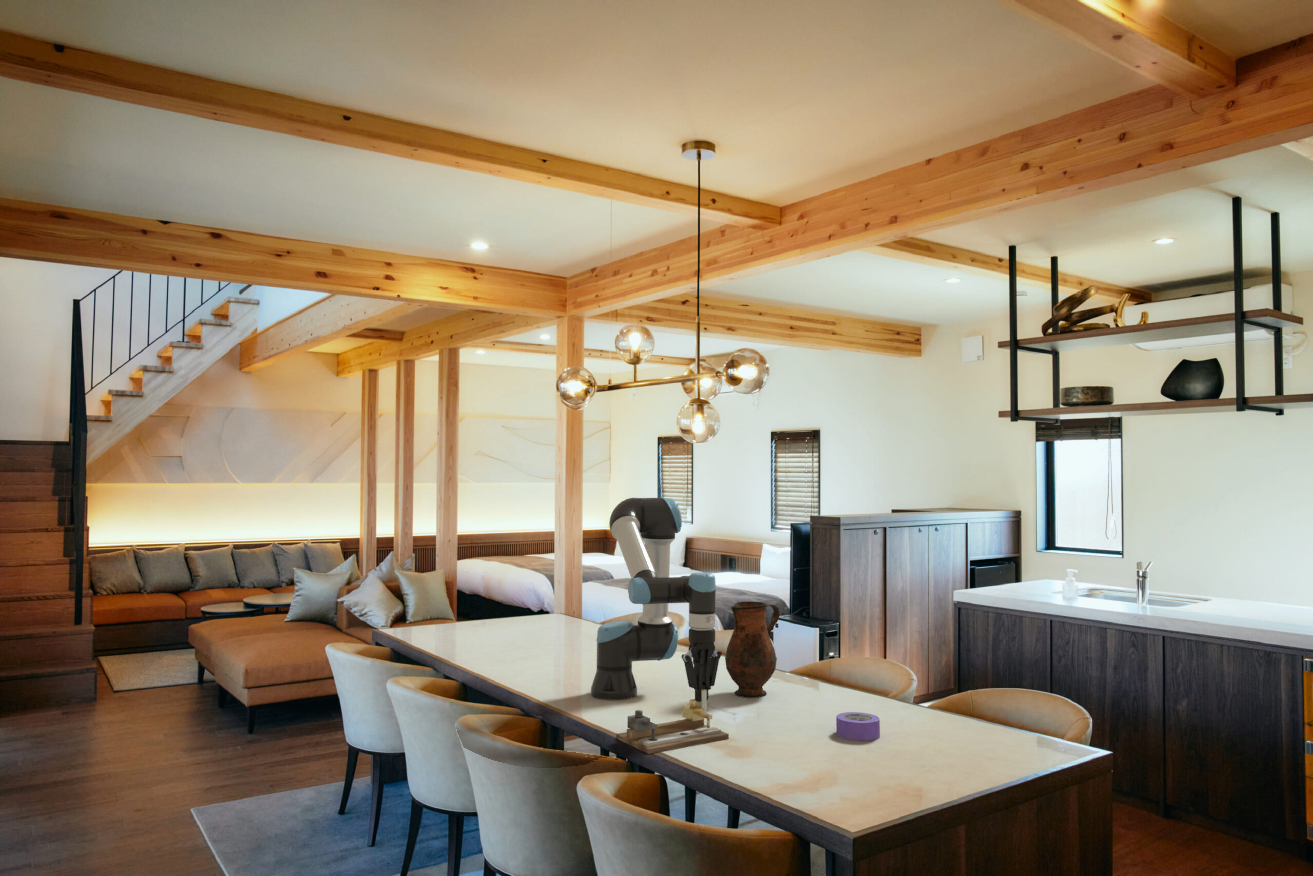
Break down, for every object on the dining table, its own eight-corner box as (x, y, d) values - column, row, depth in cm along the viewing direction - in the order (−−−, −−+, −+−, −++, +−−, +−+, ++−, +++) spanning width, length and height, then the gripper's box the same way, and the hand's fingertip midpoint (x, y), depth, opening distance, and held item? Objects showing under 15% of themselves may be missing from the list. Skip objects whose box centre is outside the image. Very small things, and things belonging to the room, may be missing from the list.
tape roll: (827, 732, 238) (827, 713, 239) (862, 727, 243) (862, 710, 243) (853, 743, 228) (853, 724, 228) (888, 739, 232) (888, 720, 233)
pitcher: (714, 693, 283) (715, 602, 284) (760, 684, 295) (760, 597, 297) (749, 703, 269) (749, 607, 271) (795, 694, 282) (795, 603, 284)
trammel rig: (616, 738, 229) (616, 709, 230) (693, 724, 244) (693, 697, 244) (648, 754, 216) (648, 722, 217) (728, 738, 230) (728, 709, 231)
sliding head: (682, 720, 239) (682, 699, 239) (693, 718, 241) (693, 697, 241) (704, 729, 230) (704, 707, 230) (716, 727, 232) (716, 705, 232)
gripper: (691, 632, 234) (690, 719, 233) (728, 628, 241) (727, 712, 240) (675, 628, 240) (675, 713, 239) (712, 624, 248) (711, 706, 246)
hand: (701, 712), depth 239 cm, fingers closed
